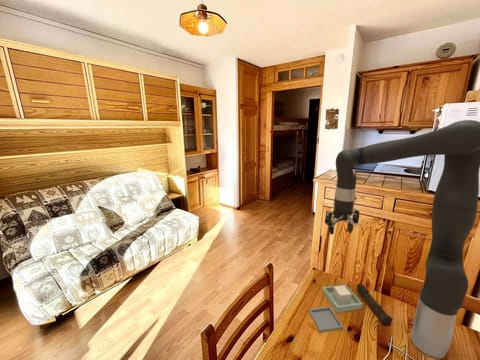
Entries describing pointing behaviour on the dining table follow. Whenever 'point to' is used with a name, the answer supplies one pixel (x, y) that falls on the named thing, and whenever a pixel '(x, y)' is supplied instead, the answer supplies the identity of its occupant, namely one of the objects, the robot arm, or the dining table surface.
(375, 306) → the hand tool
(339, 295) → the beige block
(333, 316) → the bin
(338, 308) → the bin
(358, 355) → the dining table surface
